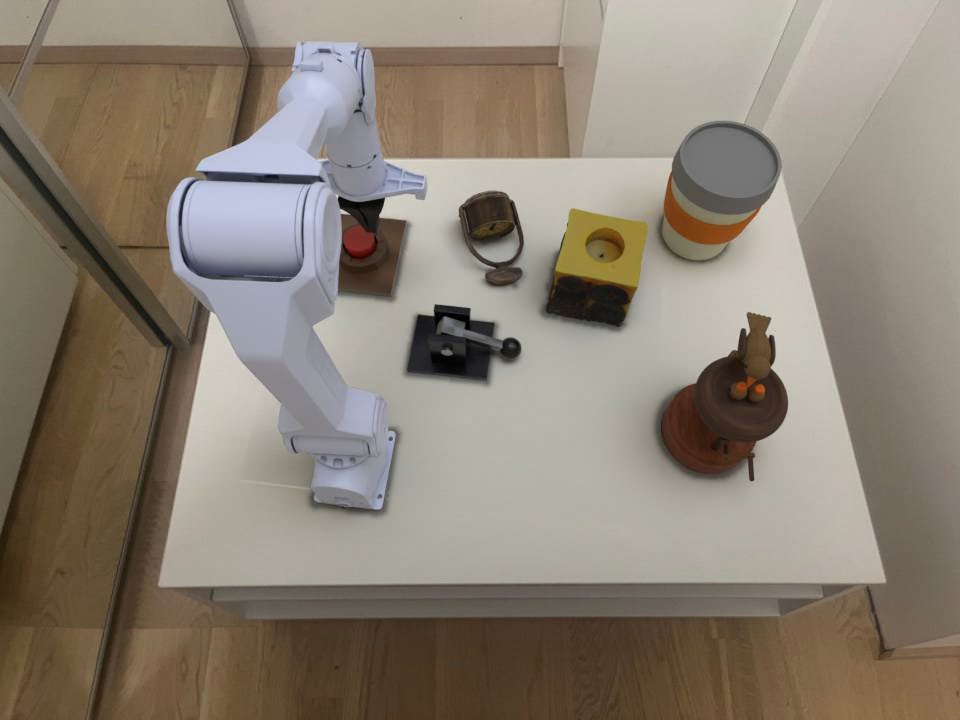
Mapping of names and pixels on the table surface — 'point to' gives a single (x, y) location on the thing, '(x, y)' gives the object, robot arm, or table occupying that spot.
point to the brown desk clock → (492, 229)
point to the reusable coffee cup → (717, 187)
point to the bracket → (449, 346)
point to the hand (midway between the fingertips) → (372, 226)
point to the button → (359, 242)
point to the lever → (480, 338)
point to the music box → (728, 406)
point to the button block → (372, 259)
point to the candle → (597, 267)
